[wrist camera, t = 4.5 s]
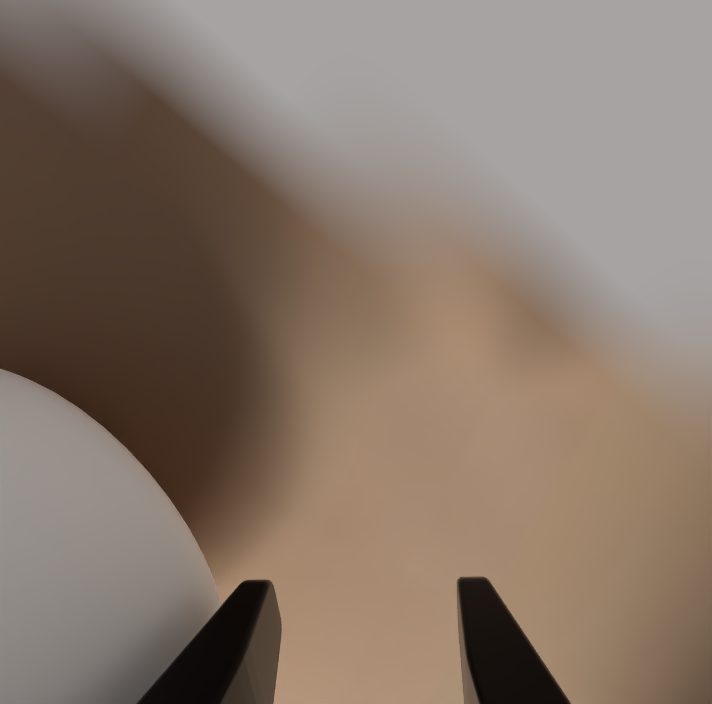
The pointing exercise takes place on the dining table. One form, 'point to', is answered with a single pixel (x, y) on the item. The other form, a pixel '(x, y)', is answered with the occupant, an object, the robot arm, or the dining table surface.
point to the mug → (87, 560)
